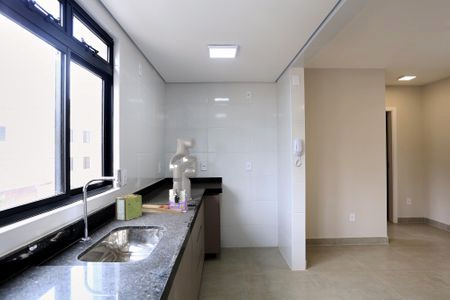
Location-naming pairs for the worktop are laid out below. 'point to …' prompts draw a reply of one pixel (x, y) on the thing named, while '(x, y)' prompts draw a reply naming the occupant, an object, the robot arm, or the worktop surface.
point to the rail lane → (159, 209)
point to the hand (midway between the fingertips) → (178, 201)
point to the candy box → (182, 200)
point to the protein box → (128, 207)
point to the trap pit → (163, 207)
